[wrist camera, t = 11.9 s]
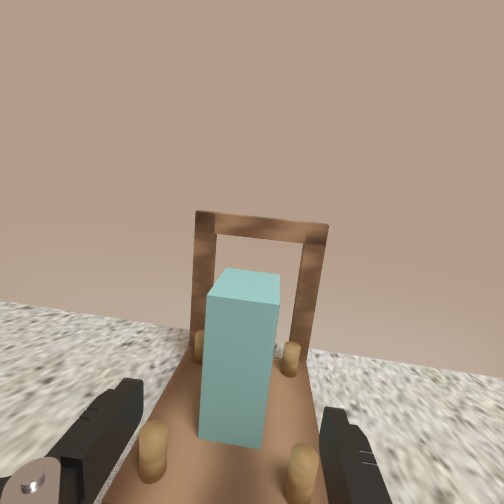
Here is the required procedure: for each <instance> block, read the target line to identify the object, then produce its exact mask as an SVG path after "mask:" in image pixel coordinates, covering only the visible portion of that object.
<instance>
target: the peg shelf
mask: <svg viewBox="0 0 504 504" xmlns="http://www.w3.org/2000/svg"><path fill="white" fill-rule="evenodd" d="M195 217H196V218H195V236H194V258H193V278H192V301H191V322H190V342H189V347H188V349H187V351H186V353H185V354H184V356H183V358H182V360H181V361H180V363H179V365H178V367H177V369H176V370H175V372H174V374H173V376H172V377H171V379H170V381H169V383H168V385H167V386H166V388H165V390H164V392H163V393H162V395H161V397H160V399H159V401H158V402H157V404H156V406H155V408H154V409H153V411H152V413H151V415H150V417H149V418H148V420H147V422H146V424H144V425H143V426H142V428H141V429H140V432H139V436H138V438H137V440H136V441H135V443H134V445H133V447H132V448H131V450H130V452H129V454H128V456H127V457H126V459H125V461H124V463H123V464H122V466H121V468H120V470H119V472H118V473H117V475H116V477H115V479H114V480H113V482H112V484H111V486H110V488H109V489H108V491H107V493H106V495H105V496H104V498H103V500H102V504H329V503H328V498H327V492H326V486H325V481H324V475H323V470H322V464H321V459H320V453H319V431H318V425H317V420H316V414H315V409H314V403H313V398H312V392H311V387H310V381H309V376H308V370H307V365H306V360H307V354H308V348H309V341H310V336H311V330H312V324H313V318H314V312H315V306H316V300H317V294H318V288H319V282H320V276H321V270H322V264H323V258H324V252H325V246H326V240H327V234H328V229H329V225H327V224H322V223H312V222H304V221H294V220H285V219H275V218H266V217H256V216H247V215H238V214H229V213H220V212H210V211H201V210H198V211H196V216H195ZM217 234H225V235H234V236H243V237H251V238H261V239H269V240H278V241H287V242H296V243H303V249H302V256H301V262H300V269H299V277H298V284H297V290H296V297H295V304H294V310H293V317H292V324H291V332H290V337H289V342H286V343H285V344H284V351H283V358H282V359H279V358H273V361H272V368H271V376H270V383H269V391H268V398H267V406H266V413H265V421H264V428H263V436H262V443H261V450H259V449H254V448H248V447H242V446H237V445H231V444H226V443H220V442H215V441H209V440H203V439H198V430H199V414H200V398H201V382H202V366H203V349H204V333H205V317H206V301H207V294H208V293H209V291H210V290H211V289H212V287H213V283H214V268H215V253H216V238H217Z"/></svg>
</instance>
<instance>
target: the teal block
mask: <svg viewBox="0 0 504 504" xmlns="http://www.w3.org/2000/svg"><path fill="white" fill-rule="evenodd" d="M279 308H280V275H279V274H271V273H263V272H256V271H246V270H240V269H232V268H226V269H225V270H224V272H223V273H222V275H221V276H220V277H219V279H218V280H217V282H216V283H215V285H214V286H213V287H212V289H211V290H210V291H209V293H208V294H207V301H206V317H205V333H204V349H203V366H202V382H201V398H200V414H199V430H198V439H203V440H209V441H215V442H220V443H226V444H231V445H237V446H242V447H248V448H254V449H259V450H261V443H262V436H263V428H264V421H265V413H266V406H267V398H268V391H269V383H270V376H271V368H272V361H273V353H274V345H275V337H276V330H277V323H278V315H279Z"/></svg>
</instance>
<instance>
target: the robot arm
mask: <svg viewBox="0 0 504 504" xmlns="http://www.w3.org/2000/svg"><path fill="white" fill-rule="evenodd" d="M142 414H143V380H139V379H132V378H124V379H123V380H122V381H121V382H120V383H119V385H118V386H117V387H116V388H115V390H114V389H108V390H107V391H105V392H104V393H102V394H101V395H99V396H98V397H96V399H95V400H94V401H93V402H92V403H91V404H90V405H89V407H88V408H87V410H85V411H84V412H83V413H82V415H81V416H80V417H79V419H77V420H76V421H75V423H74V424H73V425H72V426H71V427H70V428H69V429H68V431H67V432H66V433H65V434H64V435H63V436H62V438H61V439H60V440H59V441H58V442H57V443H56V444H55V446H54V447H53V448H52V449H51V450H50V451H49V452H48V454H47V455H46V456H45V457H43V458H39V459H36V460H33V461H31V462H29V463H27V464H26V465H24V466H23V467H21V468H20V469H19V470H17V471H16V472H15V473H14V474H13V475H12V476H9V477H4V478H0V504H93V502H94V500H95V499H96V497H97V495H98V494H99V492H100V490H101V488H102V487H103V485H104V483H105V482H106V480H107V478H108V476H109V475H110V473H111V471H112V470H113V468H114V466H115V464H116V463H117V461H118V459H119V458H120V456H121V454H122V452H123V451H124V449H125V447H126V446H127V444H128V442H129V440H130V439H131V437H132V435H133V434H134V432H135V430H136V428H137V427H138V425H139V423H140V421H141V418H142ZM319 453H320V459H321V464H322V470H323V475H324V481H325V486H326V492H327V498H328V503H329V504H392V501H391V499H390V496H389V494H388V491H387V488H386V486H385V483H384V481H383V478H382V475H381V473H380V470H379V468H378V466H377V463H376V460H375V457H374V455H373V454H372V450H371V447H370V444H369V442H368V439H367V437H366V436H365V435H364V433H363V432H362V431H361V429H360V428H359V427H358V426H357V425H352V424H349V422H348V419H347V416H346V413H345V411H344V409H340V408H333V407H325V408H324V412H323V418H322V423H321V428H320V434H319Z"/></svg>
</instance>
